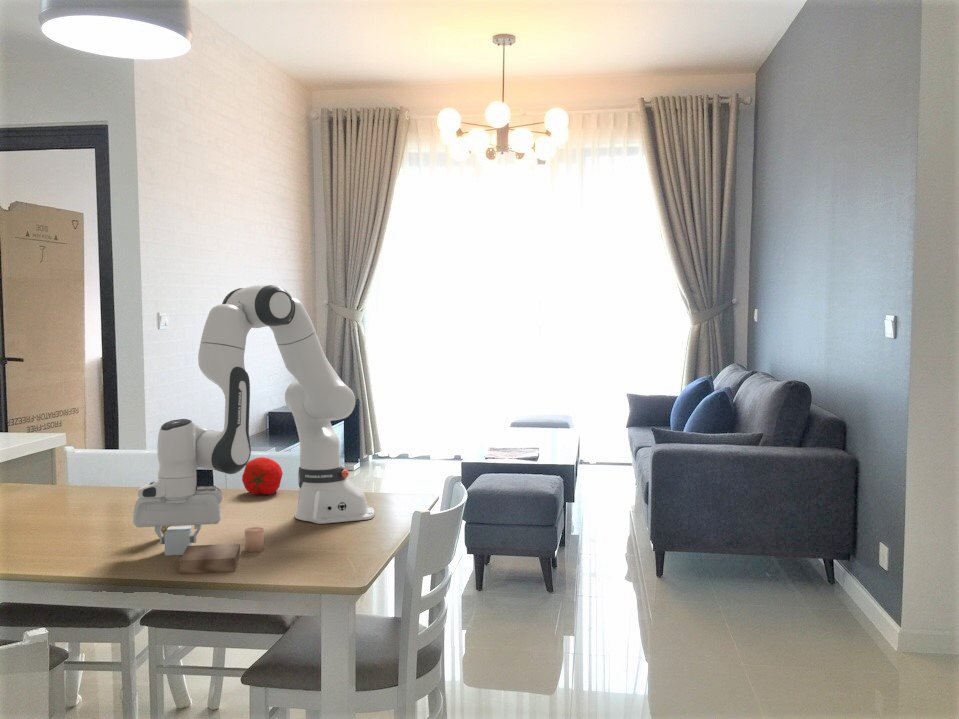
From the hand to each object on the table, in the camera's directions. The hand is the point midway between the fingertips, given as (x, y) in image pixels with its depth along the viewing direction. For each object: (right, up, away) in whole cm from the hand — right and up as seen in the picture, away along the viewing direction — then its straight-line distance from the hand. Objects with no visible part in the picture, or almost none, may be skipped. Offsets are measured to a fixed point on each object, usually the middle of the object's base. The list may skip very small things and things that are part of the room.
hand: (178, 543), depth 209 cm
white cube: (0, -2, 0) cm, 2 cm away
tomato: (+4, +2, +64) cm, 64 cm away
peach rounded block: (+18, -2, +2) cm, 18 cm away
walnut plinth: (+11, -3, -10) cm, 15 cm away
